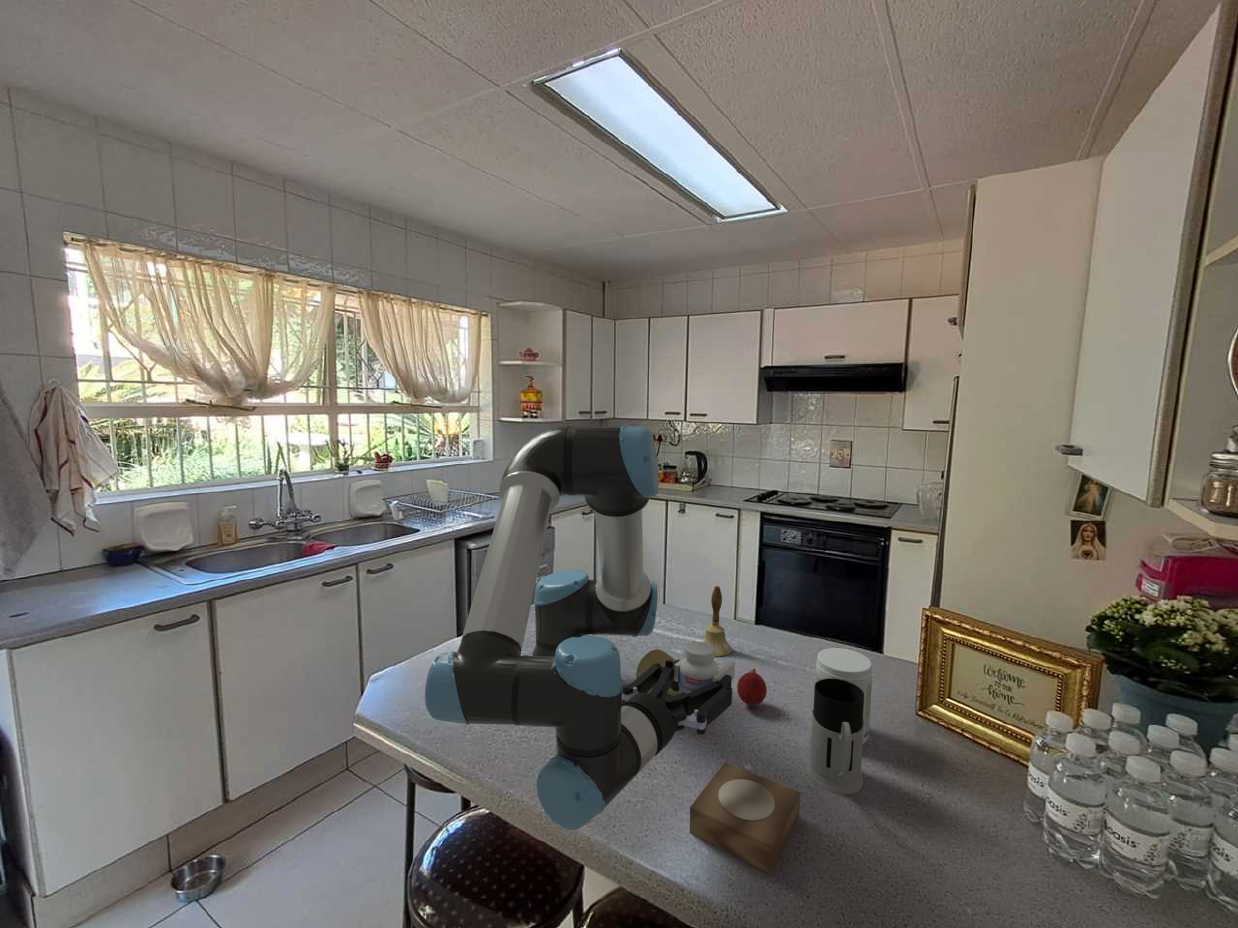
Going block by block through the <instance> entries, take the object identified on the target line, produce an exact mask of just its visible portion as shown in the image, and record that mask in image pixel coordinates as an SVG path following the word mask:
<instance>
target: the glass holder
mask: <svg viewBox="0 0 1238 928" xmlns="http://www.w3.org/2000/svg"><path fill="white" fill-rule="evenodd" d="M863 709H864V692H863V691H862V690H861V689H860V688H859V687H858V686H856V685H855V684H853V683H850V682H848V681H844V680H840V679H832V678H830V679H822V680H819V681H817V682H816V681H815V684H814V693H813V708H812V711H811V731H810V733H811V734H810V748H809V749H810V751H809V753H810V754H809V755H810V756H809V762H808V763H807V765H806V774H807V776H808V778H809V779H810V780H811V782H813V783H814V785H816V786H818V787H819V788H820V789H823V790H825V791H827V792H830V793H833V794H837V795H853V794H855V793H858V792H860V791H861V789H863V787H864V778H863V776H862V760H863V747H864V746H863V745H864V744H863V729H864V719H863Z"/></svg>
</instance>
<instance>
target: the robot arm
mask: <svg viewBox="0 0 1238 928" xmlns="http://www.w3.org/2000/svg"><path fill="white" fill-rule="evenodd" d="M658 468H659V466H658V456H657V449H656V443H655V437H654V435H653V433H652V432H651V430H649V429H648V428H646V427H641V426H630V425H622V426H585V425H584V426H583V425H582V426H571V425H559V426H555V427H551V428H548V429H546V430H544V431H542V432H540V433H538V434H536V435H535V436H534V437H532V438H531V439H530V440H528V441H527V442H526V443H525V444H523V446H521V448H520V449H519V450H518V451H516V453H515V454H514V456H513V457H512V458H511V460H510V461H509V463H508V465H507V466H506V468H505V470H504V473H503V474H502V477H501V481H500V484H499V487H498V488H499V489H498V491H499V496H500V498H501V500H502V501H501V503H500V504H501V505H500V508H499V511H498V514H497V518H496V520H495V521H496V522H495V525H494V528H493V531H492V535H491V538H490V541H489V545H488V548H487V551H486V555H485V558H484V562H483V565H482V568H481V572H480V575H479V579H478V581H477V585H476V588H475V592H474V595H473V598H472V602H471V606H470V609H469V612H468V615H467V619H466V623H465V625H464V629H463V633H462V636H461V640H460V643H459V646H458V649H457V651H454V650H453V651H450V652H442V653H440V654H438V655H437V656H436V657H435V659H434V661H433V663H431V665H430V667H429V669H428V673H427V676H426V681H425V688H424V703H425V707H426V710H427V712H428V713H429V716H430V717H431V718H433V719H434V720H437V721H440V722H441V721H442V722H448V723H449V722H450V723H457V724H464V725H465V726H468V725H471V724H476V725H478V724H479V725H480V724H481V725H506V726H507V725H511V726H513V725H514V726H524V727H526V726H528V727H540V728H541V727H543V728H555V738H556V739H555V740H556V741H555V742H556V745H555V746H556V753H555V756H553V757H550V758H549V759H548V761H547V762H546V763H545V764H544V765H543V766H542V768H541V769H540V771H539V773H538V775H537V778H536V785H535V787H536V793H537V798H538V800H539V803H540V805H541V808H542V809H543V811H544V812H545V814H546V815H547V816H548V818H549V819H550V820H551V822H553V823H554V824H556V825H559V826H560V827H561V828H563V829H564V830H565V829H566V830H569V831H576V830H579V829H581V828H583V827H585V826H586V825H587V824H589V822H590V821H592V820H593V819H594V818H595V817H596V816H597V815H599V814H601V813H603V812H604V810H605V808H606V807H607V806H608V805H609V804H610V803H611V802H612V801H613V800H614V799H615V798H616V797H617V796H618V795H619V794H620V793H621V792H622V790H624V789H625V788H626V786H627V785H629V783H630V782H631V781H632V780H633V779H634V777H636V776H637V775H638V774H640V772H641V771H642V770H643V769H644V768H645V767H646V766H647V765H648V764H649V763H650V762H651V761H652V760H653V758H655V757H657V755H659V753H661V752H662V750H664V749H665V747H666V746H668V745H669V743H670V742H671V741H672V739H673V737H674V736H675V734H676V732H679V731H681V730H684V729H685V728H686V727H689V728H693V729H695V732H696V734H697V735H699V736H704V735H705V734H706V732H707V729H708V727H709V725H710V724H712V723H713V722H715V720H716V719H717V718H718V717H720V716H721V715H722V714H723V713H724V712H725V711H726V710H727V709H728V708H729V707H730V706H732V704H733V702H732V701H733V687H732V685H733V683H732V681H733V680H735V675H736V673H735V672H736V662H735V661H732V660H730V661H728V662H727V664H726V665H724V666H723V667H722V668H721V669H719V672H718V673H717V674H716V675H715V676H714V677H713V682H712V683H710V684H708V685H705V686H703V687H701V688H699V689H696V690H694V691H692V692H690V693H685V692H682V693H680V694H678V695H675V696H673V695H670V694H668V690H669V688H670V686H671V684H672V681H673V678H674V681H676V682H679V681H680V664H681V662H682V660H683V659H684V658H686V657H685V656H683V657H682V658H681V659H675V660H676V661H675V662H673V661H671V660H667V661H665V667H661V664H659V663H655V664H653V665H652V666H651V667H650V668H649V669H648V670H646V671H645V672H644V673H643V674H642V675H641V676H639V677H638V678H637V679H636V678H635V680H633V682H631V683H629V684H625V685H623V680H622V671H621V655H620V652H619V651H620V650H619V649H618V648H617V647H618V646H616V645H615V644H614V642H613V641H611V640H610V639H607V638H604V637H601V636H618V637H619V636H623V637H624V636H625V637H633V638H636V637H645V636H646V637H647V636H650V635H651V634H652V633H653V631H654V629H655V625H656V619H657V618H656V617H657V616H656V615H657V610H658V609H657V608H658V591H659V590H658V585H657V583H656V581H652V580H650V578H649V576H648V575H647V573H646V572H645V571H644V552H643V549H644V545H643V542H644V541H643V540H644V539H643V509H645V507H646V506H647V505H648V503H649V501H650V498H652V497H655V496H656V495H658V493H659V469H658ZM561 496H583V497H584V500H585V501H584V502H585V504H586V505H587V506H588V508H589V509H590V510H591V511H593V512H594V516H595V526H596V535H597V545H598V552H599V553H598V556H599V564H600V566H599V567H600V575H599V576H598V578H597V579H590V577H589V574H588V573H587V572H586V571H584V570H579V569H569V570H568V569H567V570H561V571H560V570H559V571H557V572H556V571H555V572H554V573H550V574H548V575H547V574H546V575H545V576H544V577H542V578H540V579H539V580H538V582H537V578H538V573H539V568H540V564H541V559H542V554H543V548H544V545H545V539H546V535H547V534H546V533H547V529H548V526H549V520H550V514H551V512H552V511H553V510H554V509H555V508H556V507H557V506H558V504H559V503H560V498H561ZM534 593H535V595H534ZM533 598H534V601H533ZM532 601H533V603H534V616H535V617H534V618H535V624H534V625H535V645H534V650H533V653H532V655H526V654H525V655H521V654H522V650H523V646H524V641H525V637H526V636H525V635H526V630H527V626H528V620H529V617H530V611H531V607H532ZM652 688H653V689H652ZM650 689H652V690H651V691H650V693H647V692H648V691H649V690H650ZM692 713H694V714H692ZM691 714H692V715H691Z"/></svg>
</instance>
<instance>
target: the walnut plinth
mask: <svg viewBox="0 0 1238 928" xmlns="http://www.w3.org/2000/svg"><path fill="white" fill-rule="evenodd" d="M723 762H724V763H723V764H722V765H721V766H720V768H719V769H718V770H717V772H715V774H714V775H713V777H712V778H711V779H710V781H708V782H707V784H706V785H705V787H704V788H703V790H702V791H701V792H700V793H699V795H698V796H697V797H696V798H695V800H694V801H693V802H692V804H691V806H689V833H690V834H692V835H694V836H695V837H698V838H700V839H702V840H704V841H706V842H708V843H709V844H711V845H714V846H715V847H718V848H719V849H721V850H723V851H725V852H728V853H729V854H731V855H733V856H734V857H736V858H739V859H741V860H743V861H744V862H747V863H748V864H751V865H752V866H755V867H756V868H758V869H761V870H762V871H764V872H766V873H768V874H771V875H772V873H773V872H774V869H775V866H777V865H776V864H778V863H777V862H778V861H779V859H780V857H781V855H782V852H783V851H784V849H785V846H786V845H787V843H788V841H789V838H790V836H791V835H792V833H793V830H794V829H795V827H796V824H797V822H798V821H799V818H800V812H801V811H800V809H801V808H800V806H801V792H800V791H797V790H795V789H793V788H791V787H788V786H786V785H784V784H781V783H778V782H776V781H773V780H772V779H768V778H766V777H764V776H762V775H759V774H757V773H754V772H751V771H750V770H747V769H744V768H742V767H739V766H737V765H735V764H732V763H730V762H727V761H723Z"/></svg>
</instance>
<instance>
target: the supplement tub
mask: <svg viewBox="0 0 1238 928" xmlns="http://www.w3.org/2000/svg"><path fill="white" fill-rule="evenodd" d="M872 666H873V664H872V662H871V660H870V658H868V657H867V656H866V655H864V654H863V653H860V652H858V651H855V650H852V649H847V648H841V647H829V648H826V649H822V650H820V651H819V652H818V654H817V659H816V665H815V667H816V671H815V683H816V682H817V681H819V680H822V679H830V678H832V679H840V680H844V681H848V682H850V683H853V684H855V685H856V686H858V687H859V688H860V689H861V690H862V691H863V692H864V709H863V719H864V729H863V745H864V744H865V743H867V741H868V739H869V738H870V727H871V725H870V723H871V707H872V706H871V704H872V703H871V702H872V690H873V689H872V687H873V686H872V685H873V667H872Z"/></svg>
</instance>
